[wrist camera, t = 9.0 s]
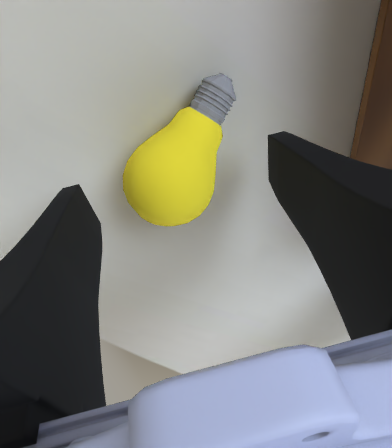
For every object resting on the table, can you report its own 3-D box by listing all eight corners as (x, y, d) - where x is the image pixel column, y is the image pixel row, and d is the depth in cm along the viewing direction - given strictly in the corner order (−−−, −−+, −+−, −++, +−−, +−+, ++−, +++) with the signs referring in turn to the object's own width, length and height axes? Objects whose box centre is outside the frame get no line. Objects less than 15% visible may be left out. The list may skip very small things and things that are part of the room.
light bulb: (116, 189, 14) (98, 212, 10) (182, 58, 12) (186, 36, 9) (183, 223, 14) (187, 256, 11) (252, 105, 13) (281, 100, 10)
